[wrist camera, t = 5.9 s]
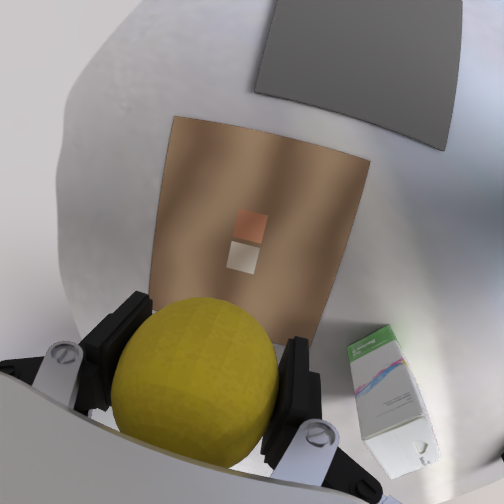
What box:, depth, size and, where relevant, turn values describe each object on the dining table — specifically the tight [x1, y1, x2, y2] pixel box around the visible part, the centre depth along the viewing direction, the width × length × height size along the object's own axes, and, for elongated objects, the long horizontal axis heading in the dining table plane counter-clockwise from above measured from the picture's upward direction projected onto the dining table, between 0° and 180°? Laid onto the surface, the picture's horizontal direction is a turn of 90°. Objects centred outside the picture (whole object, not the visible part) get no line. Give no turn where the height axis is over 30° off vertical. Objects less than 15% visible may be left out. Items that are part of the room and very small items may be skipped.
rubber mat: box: [254, 0, 462, 151], centre depth 19 cm, size 16×16×1 cm
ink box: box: [347, 325, 441, 479], centre depth 23 cm, size 9×5×12 cm, turn 34°
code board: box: [149, 116, 370, 347], centre depth 26 cm, size 16×18×1 cm
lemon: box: [111, 297, 279, 468], centre depth 10 cm, size 6×6×8 cm
